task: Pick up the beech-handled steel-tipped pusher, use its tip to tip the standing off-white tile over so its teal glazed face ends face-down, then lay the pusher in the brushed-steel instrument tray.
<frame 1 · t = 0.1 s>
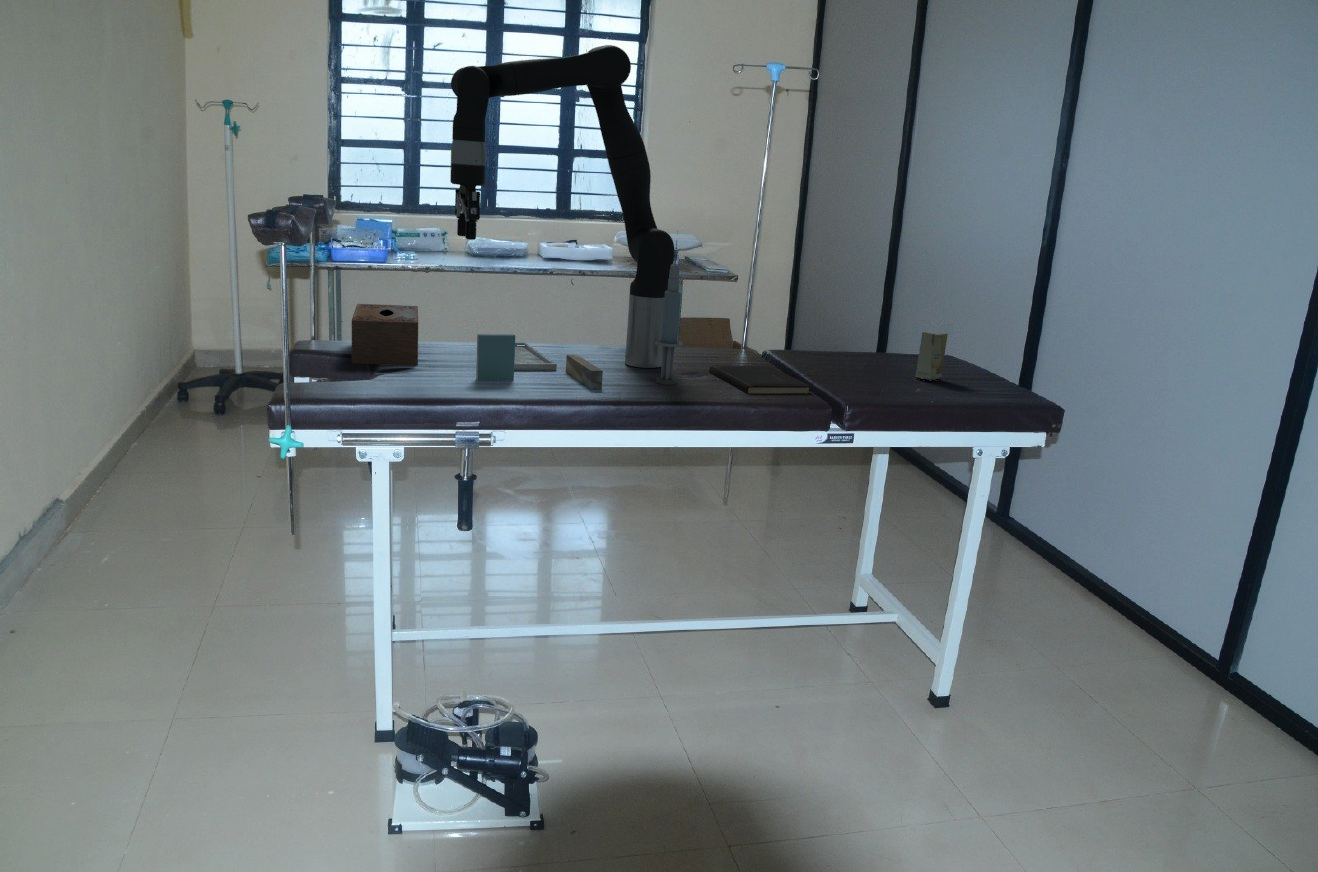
hand: (466, 237, 228), 29 cm above the table, tool pointing down, fingers open, 8 cm apart
skincare box: (928, 380, 263), on the table
tile: (494, 379, 224), on the table
hardcover book: (757, 385, 243), on the table
syringe: (665, 383, 235), on the table
instrument tray: (516, 358, 248), on the table
tissue box cover: (386, 355, 243), on the table
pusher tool: (583, 379, 231), on the table
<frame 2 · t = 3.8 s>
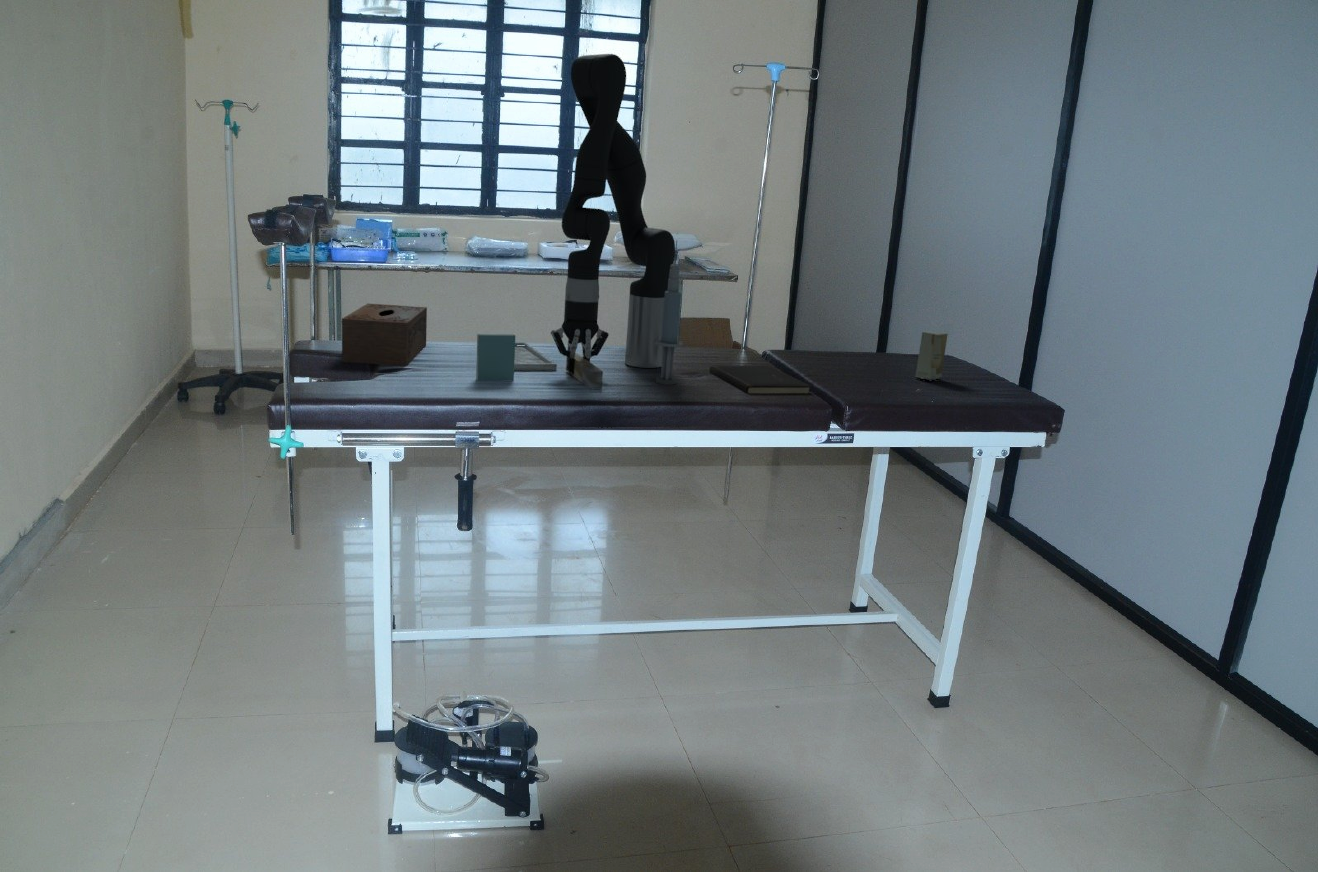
hand: (577, 373, 234), 1 cm above the table, tool pointing down, fingers closed on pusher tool, 2 cm apart
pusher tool: (583, 379, 231), on the table, touching gripper
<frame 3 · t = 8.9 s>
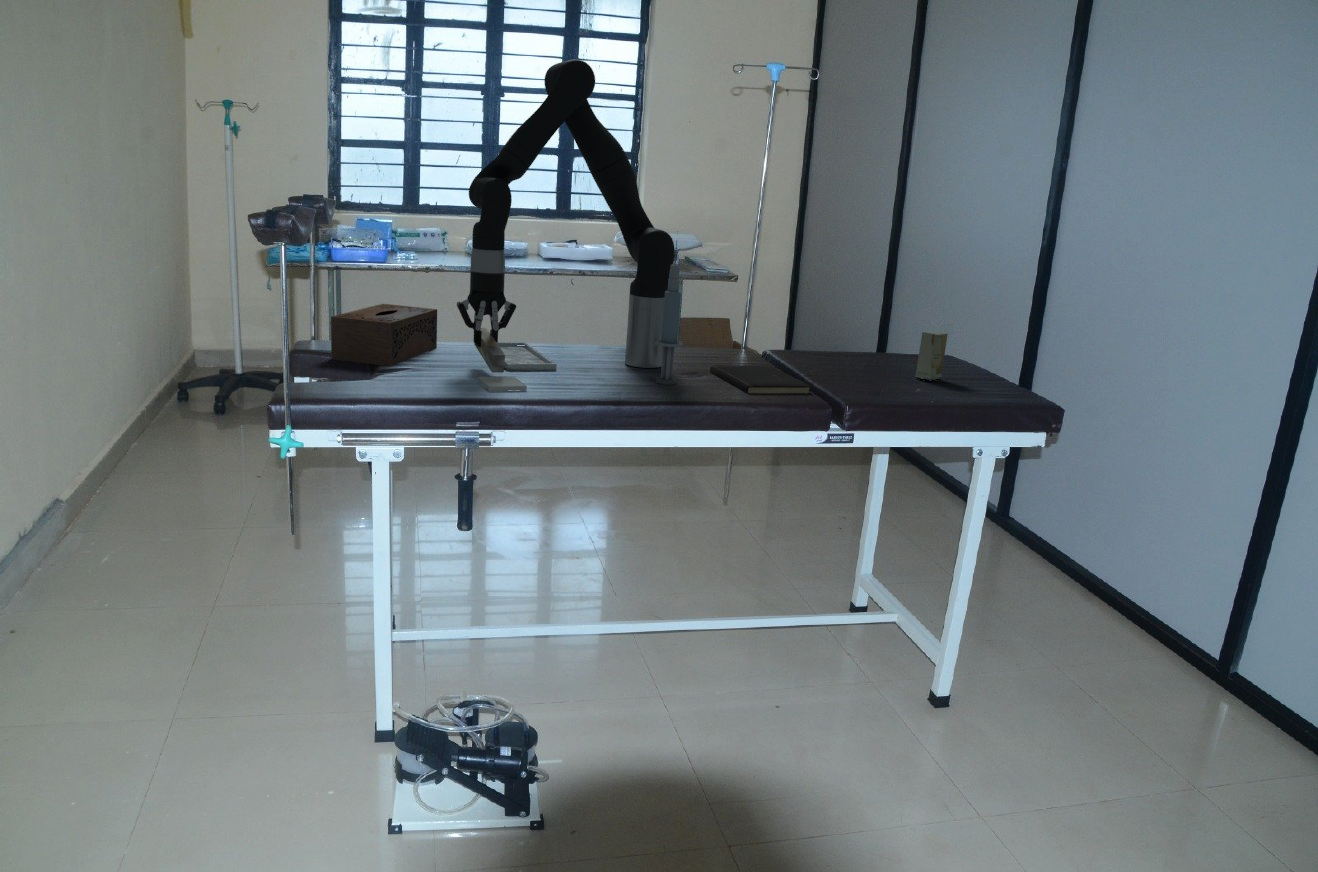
hand: (485, 346, 231), 6 cm above the table, tool pointing down, fingers closed on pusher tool, 2 cm apart
tile: (496, 380, 223), on the table, tilted 90°
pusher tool: (488, 358, 229), point 3 cm above the table, tilted 9°, touching gripper
when the fingers open (3 cm above the table, at t = 13.1 s): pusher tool stays where it is, resting on instrument tray.
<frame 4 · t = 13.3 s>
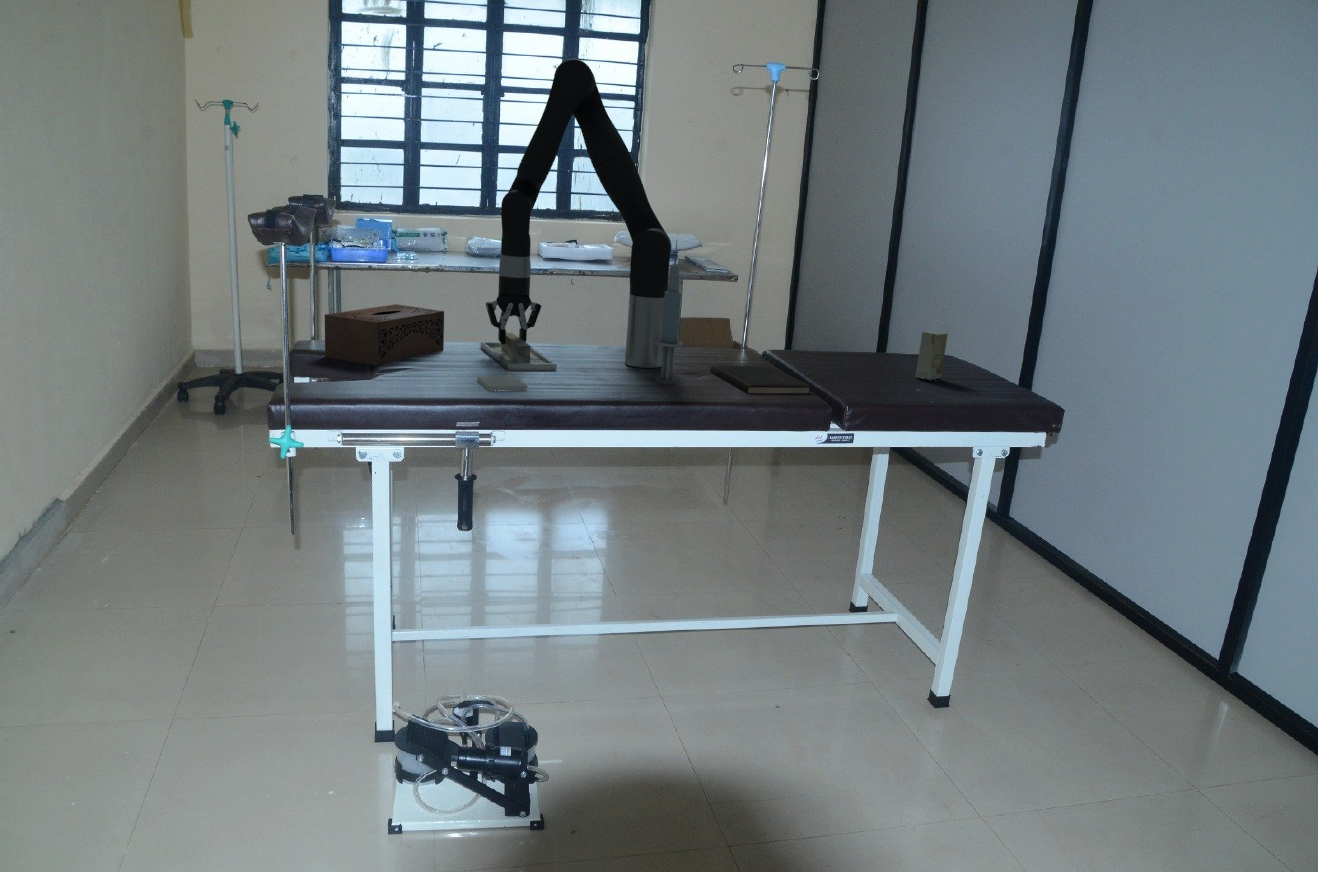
hand: (512, 343, 252), 3 cm above the table, tool pointing down, fingers open, 4 cm apart
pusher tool: (515, 355, 250), point 1 cm above the table, touching instrument tray
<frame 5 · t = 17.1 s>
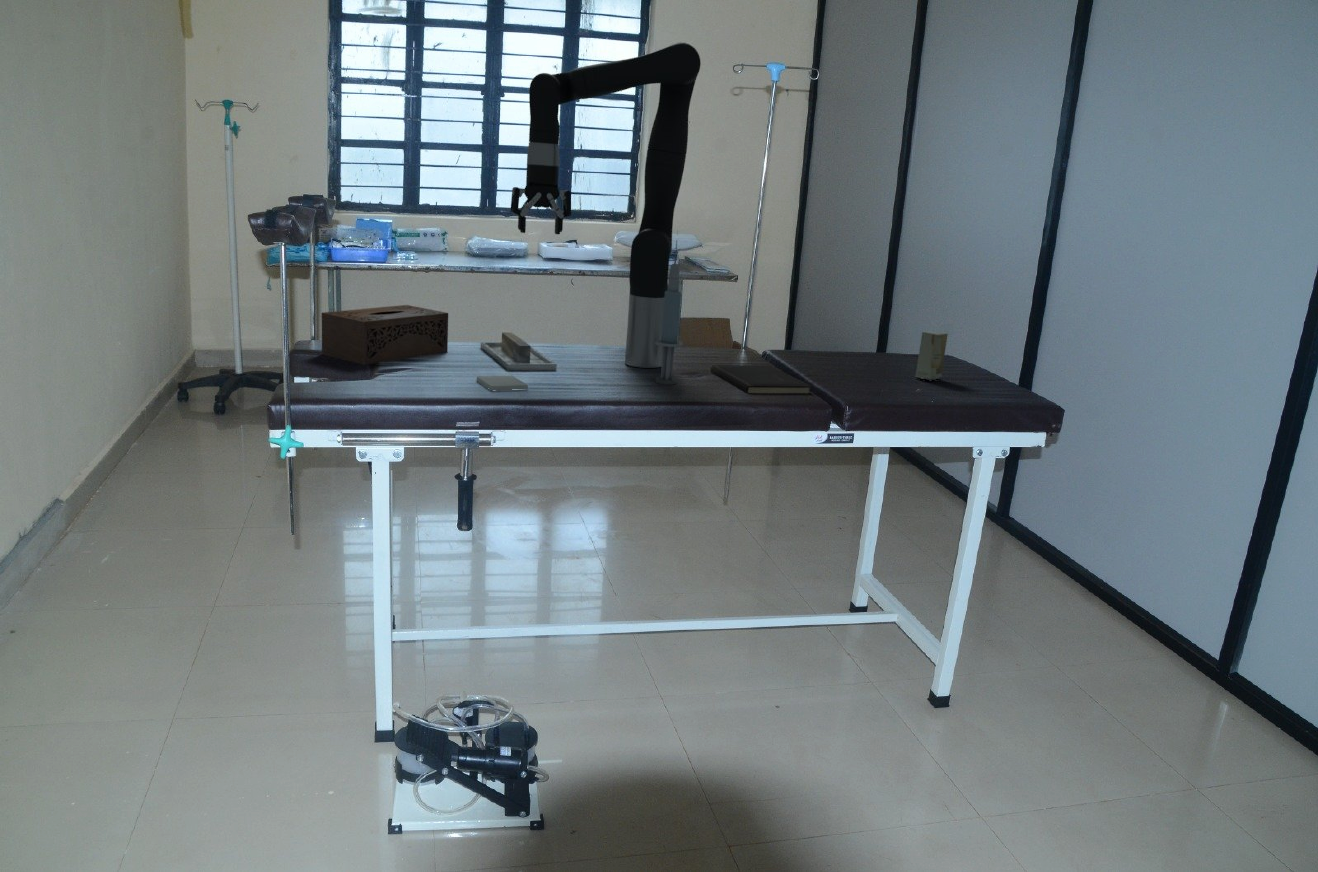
hand: (540, 233, 244), 30 cm above the table, tool pointing down, fingers open, 8 cm apart
at the end: tile tilted 90°; tile inside the target area (4.3 cm from its centre), on the table; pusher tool inside the target area on the instrument tray (1.1 cm from its centre), point 0.6 cm above the instrument tray's base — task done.
